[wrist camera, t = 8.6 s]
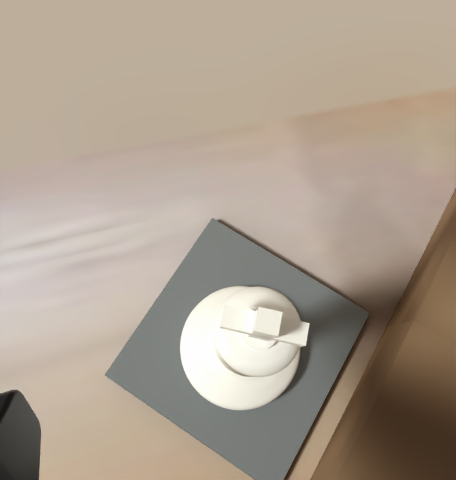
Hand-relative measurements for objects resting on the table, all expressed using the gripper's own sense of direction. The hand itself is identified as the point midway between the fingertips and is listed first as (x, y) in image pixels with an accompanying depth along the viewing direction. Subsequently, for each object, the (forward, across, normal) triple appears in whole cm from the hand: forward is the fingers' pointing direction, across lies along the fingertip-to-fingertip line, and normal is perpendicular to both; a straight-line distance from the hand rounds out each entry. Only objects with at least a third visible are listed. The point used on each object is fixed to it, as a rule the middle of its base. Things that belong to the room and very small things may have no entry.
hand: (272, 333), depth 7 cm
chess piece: (+7, 0, +7) cm, 10 cm away
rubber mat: (+7, 0, +7) cm, 10 cm away
